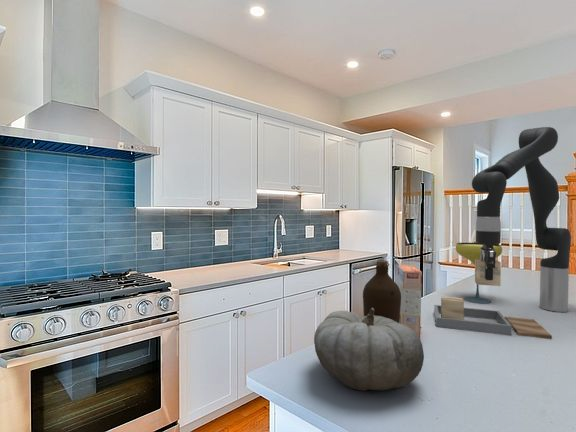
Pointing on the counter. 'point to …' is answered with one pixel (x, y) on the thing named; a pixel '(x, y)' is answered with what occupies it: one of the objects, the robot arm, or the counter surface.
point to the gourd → (368, 350)
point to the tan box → (481, 273)
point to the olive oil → (382, 294)
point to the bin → (474, 325)
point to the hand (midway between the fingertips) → (487, 278)
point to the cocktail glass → (472, 254)
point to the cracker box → (410, 296)
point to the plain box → (452, 308)
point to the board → (528, 327)
